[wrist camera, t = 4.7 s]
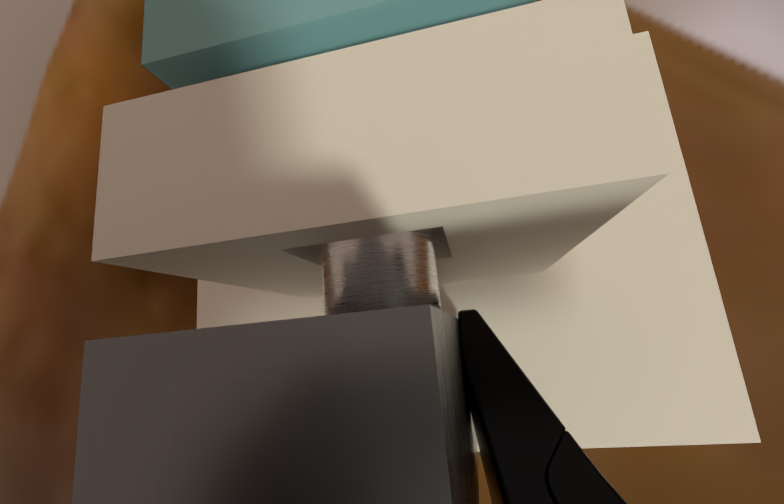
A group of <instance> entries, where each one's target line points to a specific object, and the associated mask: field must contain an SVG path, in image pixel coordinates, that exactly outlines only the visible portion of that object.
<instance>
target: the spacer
mask: <svg viewBox="0 0 784 504" xmlns="http://www.w3.org/2000/svg"><path fill="white" fill-rule="evenodd" d="M534 2H536V0H145V5H144V22H143V40H142V57H141V65H142V66H143V67H145V68H146V69H147V70H148V71H150V72H151V73H152V74H153V75H155V76H156V77H157V78H159V79H160V80H161V81H162V82H164V83H165V84H166V85H167V86H169V87H170V88H171V89H177V88H181V87H185V86H189V85H194V84H198V83H202V82H206V81H210V80H214V79H218V78H223V77H227V76H231V75H235V74H239V73H243V72H247V71H252V70H256V69H260V68H264V67H268V66H272V65H277V64H281V63H285V62H289V61H293V60H297V59H301V58H306V57H310V56H314V55H318V54H322V53H326V52H330V51H335V50H339V49H343V48H347V47H351V46H355V45H360V44H364V43H368V42H372V41H376V40H380V39H384V38H389V37H393V36H397V35H401V34H405V33H409V32H413V31H418V30H422V29H426V28H430V27H434V26H438V25H442V24H447V23H451V22H455V21H459V20H463V19H467V18H472V17H476V16H480V15H484V14H488V13H492V12H496V11H501V10H505V9H509V8H513V7H517V6H521V5H525V4H530V3H534Z"/></svg>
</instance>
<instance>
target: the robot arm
mask: <svg viewBox="0 0 784 504" xmlns="http://www.w3.org/2000/svg"><path fill="white" fill-rule="evenodd" d="M458 319H459V333H460V346H461V356H462V362H463V368H464V374H465V380H466V386H467V392H468V398H469V404H470V411H471V416H472V421H473V425H474V429H475V433H476V437H477V442H478V446H479V450H480V454H481V458H482V463H483V467H484V471H485V475H486V480H487V484H488V488H489V492H490V496H491V501H492V504H628V503H627V502H626V501H625V500H624V499H623V498H622V497H621V496H620V494H619V493H618V492H617V491H616V490H615V489H614V488H613V486H612V485H611V484H610V483H609V482H608V481H607V480H606V479H605V477H604V476H603V475H602V474H601V472H600V471H599V470H598V469H597V467H596V466H595V465H594V464H593V462H592V461H591V460H590V459H589V457H588V456H587V455H586V454H585V452H584V451H583V450H582V449H581V447H580V446H579V445H578V443H577V442H576V441H575V439H574V438H573V437H572V435H571V434H570V433H569V432H568V431H565V430H566V428H565V426H564V425H563V424H562V422H561V421H560V420H559V418H558V417H557V416H556V414H555V413H554V412H553V410H552V409H551V408H550V406H549V405H548V404H547V402H546V401H545V400H544V399H543V397H542V396H541V395H540V393H539V392H538V391H537V389H536V388H535V387H534V385H533V384H532V383H531V381H530V380H529V379H528V377H527V376H526V375H525V373H524V372H523V371H522V369H521V368H520V367H519V365H518V364H517V363H516V361H515V360H514V359H513V357H512V356H511V355H510V353H509V352H508V351H507V349H506V348H505V347H504V345H503V344H502V343H501V341H500V340H499V339H498V337H497V336H496V335H495V333H494V332H493V331H492V330H491V328H490V327H489V326H488V324H487V323H486V322H485V320H484V319H483V318H482V316H481V315H480V314H479V312H478V311H477V310H475V309H471V310H461V311H459V312H458Z"/></svg>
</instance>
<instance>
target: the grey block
mask: <svg viewBox="0 0 784 504" xmlns="http://www.w3.org/2000/svg"><path fill="white" fill-rule="evenodd" d="M321 259H322V278H323V297H324V315H323V316H314V317H304V318H295V319H285V320H276V321H266V322H257V323H247V324H238V325H228V326H219V327H209V328H200V329H190V330H181V331H171V332H162V333H152V334H143V335H133V336H124V337H115V338H105V339H96V340H86V341H84V353H83V366H82V378H81V391H80V404H79V416H78V429H77V441H76V454H75V467H74V479H73V492H72V504H479V483H478V453H477V437H476V433H475V429H474V425H473V421H472V416H471V411H470V404H469V398H468V392H467V386H466V380H465V374H464V368H463V362H462V356H461V346H460V333H459V319H458V318H456V317H454V316H452V315H450V314H448V313H446V312H444V311H442V310H441V302H440V293H439V284H438V276H437V267H436V259H435V250H434V242H433V233H432V228H428V229H421V230H414V231H407V232H400V233H393V234H386V235H379V236H372V237H365V238H358V239H351V240H344V241H337V242H330V243H323V244H321Z"/></svg>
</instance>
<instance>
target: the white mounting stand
mask: <svg viewBox="0 0 784 504" xmlns="http://www.w3.org/2000/svg"><path fill="white" fill-rule="evenodd" d="M428 228H432V233H433V242H434V250H435V259H436V267H437V276H438V284H439V293H440V302H441V310H442V311H444V312H446V313H448V314H450V315H452V316H454V317H456V318H458V312H459V311H461V310H471V309H475V310H477V311H478V312H479V314H480V315H481V316H482V318H483V319H484V320H485V322H486V323H487V324H488V326H489V327H490V328H491V330H492V331H493V332H494V333H495V335H496V336H497V337H498V339H499V340H500V341H501V343H502V344H503V345H504V347H505V348H506V349H507V351H508V352H509V353H510V355H511V356H512V357H513V359H514V360H515V361H516V363H517V364H518V365H519V367H520V368H521V369H522V371H523V372H524V373H525V375H526V376H527V377H528V379H529V380H530V381H531V383H532V384H533V385H534V387H535V388H536V389H537V391H538V392H539V393H540V395H541V396H542V397H543V399H544V400H545V401H546V402H547V404H548V405H549V406H550V408H551V409H552V410H553V412H554V413H555V414H556V416H557V417H558V418H559V420H560V421H561V422H562V424H563V425H564V426H565V428H566V430H565V431H568V432H569V433H570V434H571V435H572V437H573V438H574V439H575V441H576V442H577V443H578V445H579V446H580V447H581V448H608V447H639V446H670V445H701V444H732V443H761V441H760V437H759V433H758V430H757V426H756V422H755V419H754V415H753V412H752V408H751V404H750V401H749V397H748V393H747V390H746V386H745V382H744V379H743V375H742V371H741V368H740V364H739V360H738V357H737V353H736V349H735V346H734V342H733V339H732V335H731V331H730V328H729V324H728V320H727V317H726V313H725V309H724V306H723V302H722V298H721V295H720V291H719V287H718V284H717V280H716V276H715V273H714V269H713V266H712V262H711V258H710V255H709V251H708V247H707V244H706V240H705V236H704V233H703V229H702V225H701V222H700V218H699V214H698V211H697V207H696V203H695V200H694V196H693V192H692V189H691V185H690V182H689V178H688V174H687V171H686V167H685V163H684V160H683V156H682V152H681V149H680V145H679V141H678V138H677V134H676V130H675V127H674V123H673V119H672V116H671V112H670V109H669V105H668V101H667V98H666V94H665V90H664V87H663V83H662V79H661V76H660V72H659V68H658V65H657V61H656V57H655V54H654V50H653V46H652V43H651V39H650V36H649V32H648V31H646V32H641V33H637V34H632V30H631V26H630V22H629V19H628V15H627V11H626V7H625V3H624V0H542V1H538V2H534V3H530V4H525V5H521V6H517V7H513V8H509V9H505V10H501V11H496V12H492V13H488V14H484V15H480V16H476V17H472V18H467V19H463V20H459V21H455V22H451V23H447V24H442V25H438V26H434V27H430V28H426V29H422V30H418V31H413V32H409V33H405V34H401V35H397V36H393V37H389V38H384V39H380V40H376V41H372V42H368V43H364V44H360V45H355V46H351V47H347V48H343V49H339V50H335V51H330V52H326V53H322V54H318V55H314V56H310V57H306V58H301V59H297V60H293V61H289V62H285V63H281V64H277V65H272V66H268V67H264V68H260V69H256V70H252V71H247V72H243V73H239V74H235V75H231V76H227V77H223V78H218V79H214V80H210V81H206V82H202V83H198V84H194V85H189V86H185V87H181V88H177V89H173V90H169V91H165V92H160V93H156V94H152V95H148V96H144V97H140V98H135V99H131V100H127V101H123V102H119V103H115V104H111V105H106V106H103V119H102V132H101V144H100V157H99V170H98V182H97V195H96V207H95V220H94V233H93V245H92V258H91V261H93V262H99V263H105V264H111V265H117V266H122V267H128V268H134V269H140V270H146V271H152V272H158V273H164V274H169V275H175V276H181V277H187V278H193V279H198V288H197V329H200V328H209V327H219V326H228V325H238V324H247V323H257V322H266V321H276V320H285V319H295V318H304V317H314V316H323V315H324V297H323V278H322V259H321V244H323V243H330V242H337V241H344V240H351V239H358V238H365V237H372V236H379V235H386V234H393V233H400V232H407V231H414V230H421V229H428ZM477 452H480V450H479V446H478V442H477Z"/></svg>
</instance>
